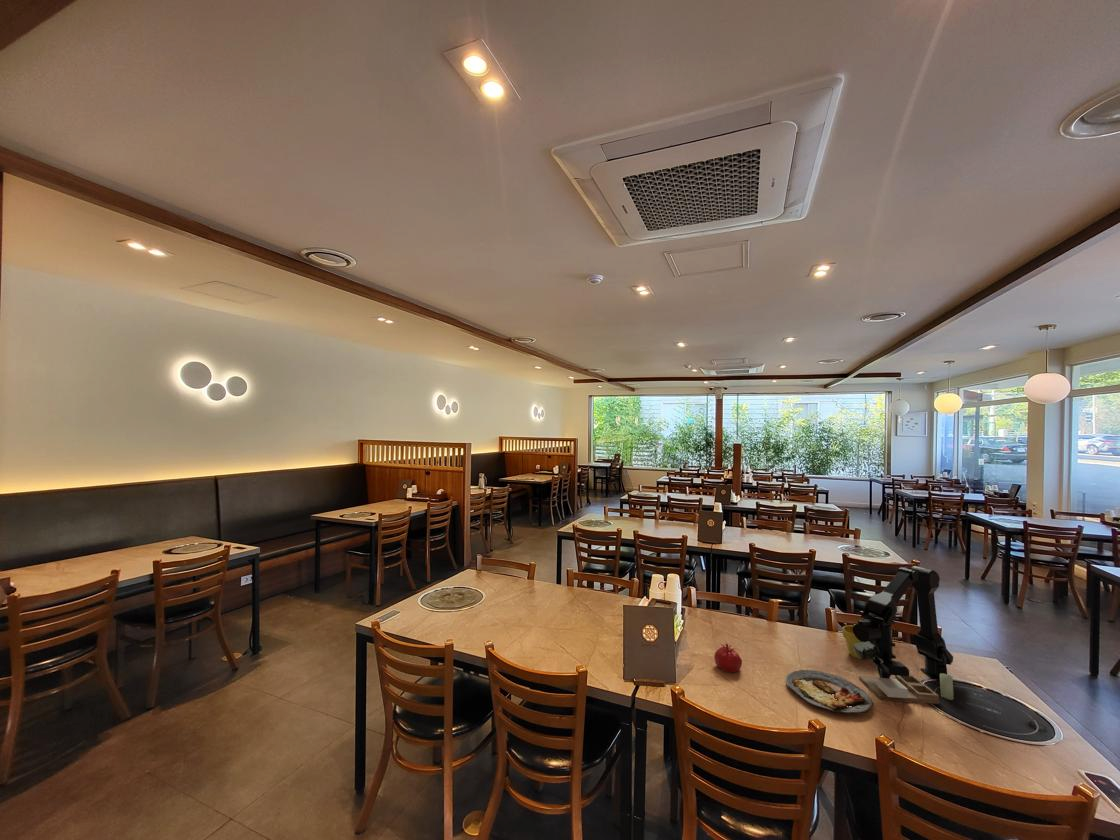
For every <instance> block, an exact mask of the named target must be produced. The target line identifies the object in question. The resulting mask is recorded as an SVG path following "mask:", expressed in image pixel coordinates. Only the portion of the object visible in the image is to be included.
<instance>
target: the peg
mask: <svg viewBox="0 0 1120 840" xmlns="http://www.w3.org/2000/svg"><path fill="white" fill-rule="evenodd" d="M953 683H954V682H953V676H951V675H950V674H948V673H947V674H944V673H940V679H939V685H940V687H939V688H940V696H941V697H942V698H943V697H944V698H943V699H945V698H946V699H945V700H949V701H953V699H954V698H955V697H954V684H953Z"/></svg>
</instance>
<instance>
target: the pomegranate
mask: <svg viewBox="0 0 1120 840" xmlns="http://www.w3.org/2000/svg"><path fill="white" fill-rule="evenodd" d="M721 646H722V647H720V648H717V650H716V651H715V653H714V657H713V658H714V662H715V665H716V666H717V667H718V668H719V669H720V670H722V671H725V672H727V673H736V672H738V671H740V670H741V668H742V664H743V660H742V658H741V657H740V655H739V653H738V652H737V651H736V650H739V649H737V648H734V647H733V648H731V647H732V645H729V643H727V642H725V645H724V644H721Z"/></svg>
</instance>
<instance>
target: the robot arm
mask: <svg viewBox="0 0 1120 840" xmlns="http://www.w3.org/2000/svg"><path fill="white" fill-rule="evenodd" d="M940 579H941V578H940V575H939V573H938V572H937V571H936V570H934V569H929V568H926V567H922V566H918V565H912V567H907V566H903V567H902V566H900V567H899V568H898V569H897V573H896V574H895V575H894V576H893V578H892V579H891V580H890V581H889V583H888V584H887V586H885V588H884V589H883V590H882V592H879V593H877V594H873V595H872V596H871V597H869V599H868V600H867V601H866V603H865V606H864V607H863V610H862V612H861V614H860V618H862V619H858V620H857V623H856V624H855V623H854V625H853V633H854V635H855V637H856V638H857V639H858V640H860V641H861V642H860V643H857V644H854V645H853V646H854V648H855V651H856V653H857V655H859V656H860V657H861V658H862V659H861V660H863V661H864V660H871V661H872V662H873V663H874V665H875V667H876V670H877V673H878V677H880V678H891V676H895V675H897V676H910V675H911V673H910V669H909V668H908V667H907V666H906V665H904V664H903V663H902V662H901V661H899V660H898V661H897V660H895V659H897V656H896V655H895V653H893V650H894V647H896V643H895V642H893V632H892V625H894V624H896V621H895V620H893V619H894V617H895V616H896V614H897V611H898V606H897V604H898V603H899V601H900V600H901V599H902V597H903V596H904V595H905V593H907V591H908V589H909V588H910V587H913V589H915V591H916V599H917V609H918V618H919V631H918V632H917V633H916V634H914V636H913V637H914V645H915V648H916V650H917V654H918V655H921V656H923V657H924V668H920V671H921V672H922V673H924V674H925V675H926V676H928V677H929V678H931V679H933V680H940V673H944V674H948V668H947V665H948V666H951V665H952V663H953V662H954V656H953V655H952V653H951V652H950V651H949V650H948V648H947V646H946V641H945V639H944V637H942V635H941V634H940V633H939V629H938V628H939V627H938V618H937V610H936V609H937V608H936V600H935V592H936V591H937V590H938V589H939V587H940Z"/></svg>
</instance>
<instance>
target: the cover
mask: <svg viewBox="0 0 1120 840" xmlns="http://www.w3.org/2000/svg"><path fill="white" fill-rule="evenodd" d="M891 678H892V677H890V678H877V687H878V688H880V689H881V690H882V691H883V692H884V693H885V694H886V695H887V696H888V697H896V698H908V689H907V688H906V687H905V686H904V685H902V684H901V683H900V682H899V681H898V680H897V679H891Z"/></svg>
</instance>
